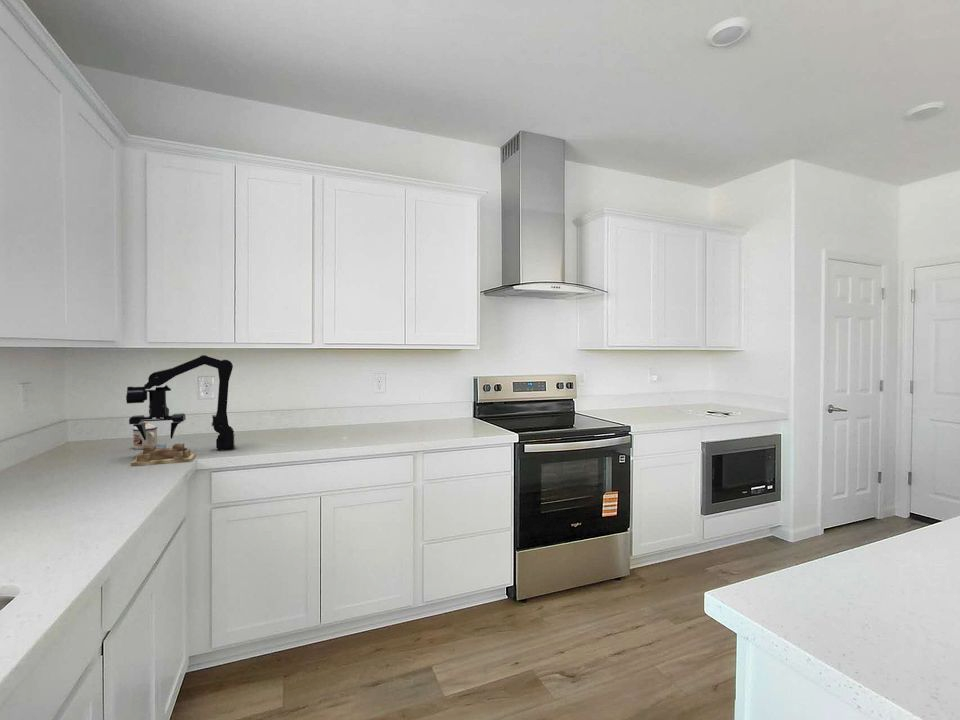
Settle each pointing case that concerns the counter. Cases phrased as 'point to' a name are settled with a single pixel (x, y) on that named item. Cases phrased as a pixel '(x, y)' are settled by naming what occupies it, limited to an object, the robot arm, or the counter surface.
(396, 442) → the counter surface
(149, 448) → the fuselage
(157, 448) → the light blue block
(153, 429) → the teacup with lid
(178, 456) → the jig
